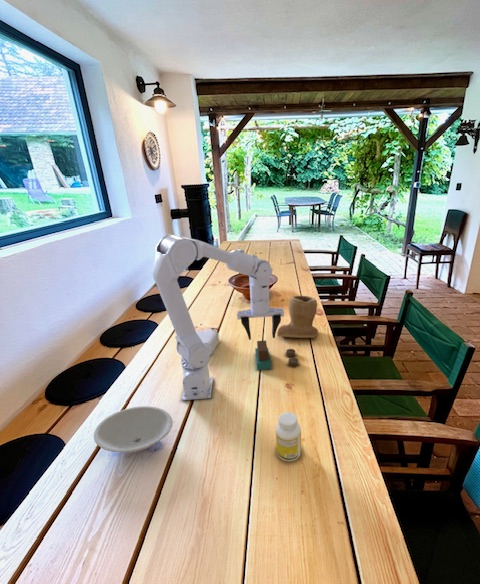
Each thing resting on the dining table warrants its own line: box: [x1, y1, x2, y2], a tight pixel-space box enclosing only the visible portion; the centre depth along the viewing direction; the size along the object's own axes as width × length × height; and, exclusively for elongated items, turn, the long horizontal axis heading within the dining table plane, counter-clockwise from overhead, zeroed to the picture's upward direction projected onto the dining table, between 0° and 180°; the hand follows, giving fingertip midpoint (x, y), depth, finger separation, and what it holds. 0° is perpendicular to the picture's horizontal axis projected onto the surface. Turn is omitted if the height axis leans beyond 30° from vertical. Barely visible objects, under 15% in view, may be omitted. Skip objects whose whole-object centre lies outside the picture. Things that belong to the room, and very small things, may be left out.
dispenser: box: [195, 328, 220, 356], centre depth 118 cm, size 5×9×15 cm
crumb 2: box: [287, 357, 299, 368], centre depth 105 cm, size 3×3×2 cm
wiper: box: [254, 339, 272, 371], centre depth 106 cm, size 10×4×6 cm, turn 5°
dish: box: [93, 405, 173, 454], centre depth 75 cm, size 18×14×5 cm
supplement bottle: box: [275, 411, 302, 462], centre depth 70 cm, size 5×5×10 cm
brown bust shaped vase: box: [276, 295, 319, 339], centre depth 121 cm, size 15×12×15 cm
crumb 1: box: [285, 348, 296, 358], centre depth 110 cm, size 3×3×2 cm
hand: (261, 337), depth 103 cm, fingers open, 7 cm apart
